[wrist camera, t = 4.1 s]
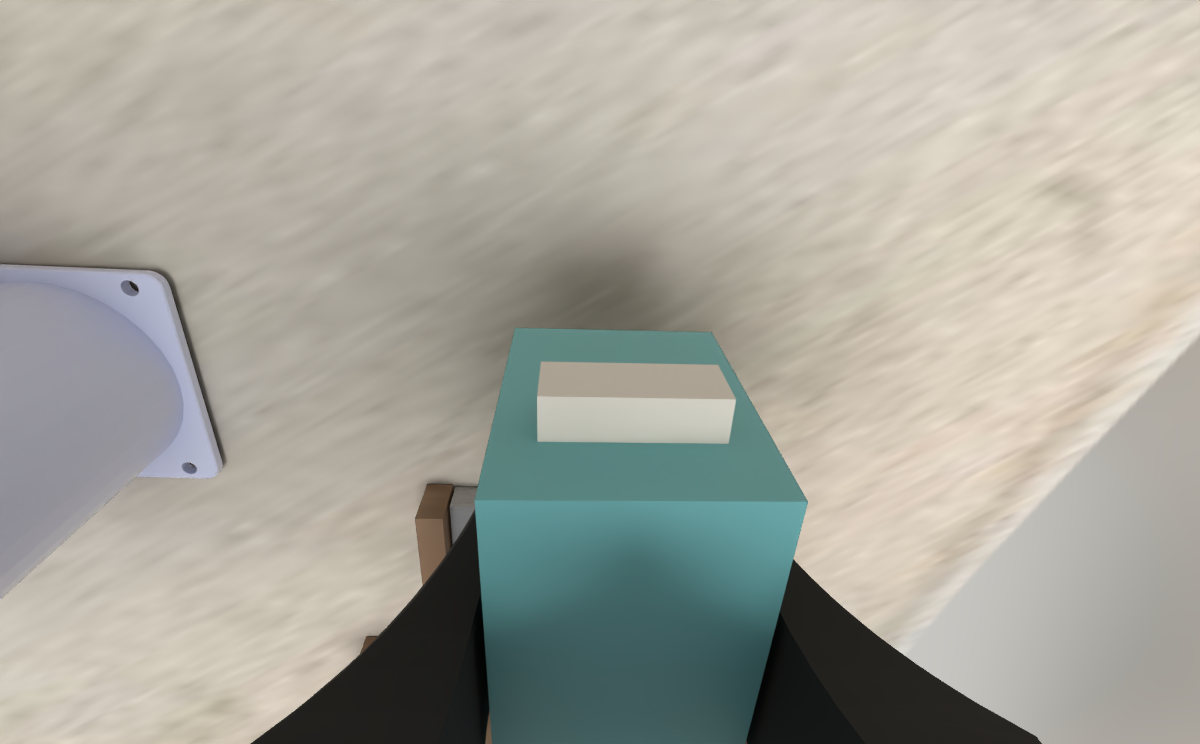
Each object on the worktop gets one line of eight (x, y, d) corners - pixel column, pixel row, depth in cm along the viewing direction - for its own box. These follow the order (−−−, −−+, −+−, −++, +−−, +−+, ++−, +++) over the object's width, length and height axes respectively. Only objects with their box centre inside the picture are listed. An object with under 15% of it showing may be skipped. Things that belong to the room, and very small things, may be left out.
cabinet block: (521, 584, 16) (497, 825, 11) (514, 294, 12) (471, 450, 7) (676, 584, 17) (725, 819, 11) (716, 299, 13) (820, 452, 7)
